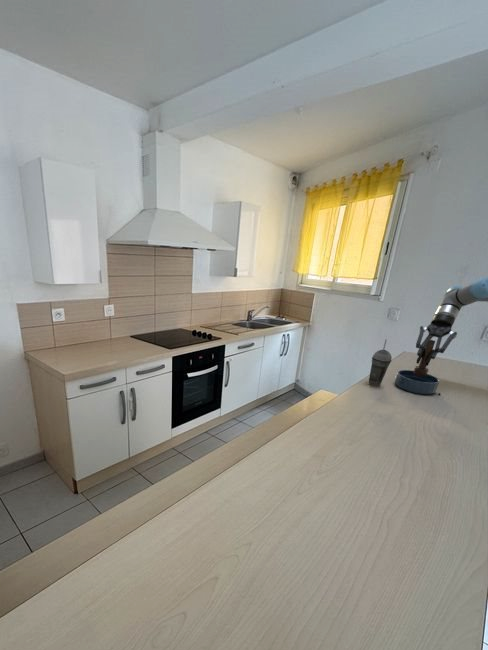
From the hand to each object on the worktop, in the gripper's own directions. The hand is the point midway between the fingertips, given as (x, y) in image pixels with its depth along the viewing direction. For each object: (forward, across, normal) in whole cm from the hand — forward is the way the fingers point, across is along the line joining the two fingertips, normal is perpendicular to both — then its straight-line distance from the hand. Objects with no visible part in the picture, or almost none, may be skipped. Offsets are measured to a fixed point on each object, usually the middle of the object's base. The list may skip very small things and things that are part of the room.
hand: (422, 362), depth 133 cm
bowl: (+8, 0, -9) cm, 12 cm away
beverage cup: (+15, +13, -2) cm, 20 cm away
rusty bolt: (+2, 0, -7) cm, 7 cm away
